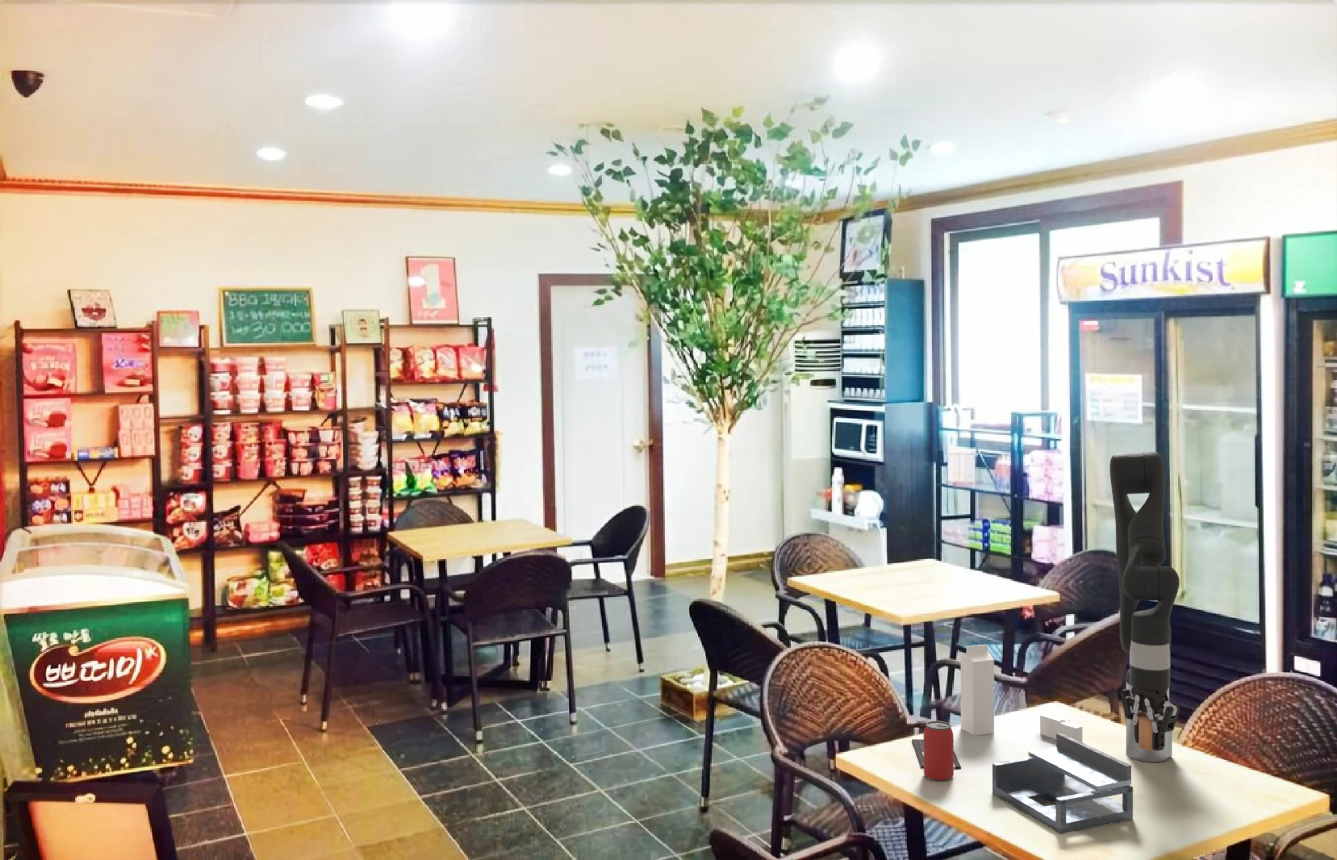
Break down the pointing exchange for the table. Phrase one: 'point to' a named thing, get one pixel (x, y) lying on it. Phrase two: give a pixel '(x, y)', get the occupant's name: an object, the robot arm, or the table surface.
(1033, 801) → the housing
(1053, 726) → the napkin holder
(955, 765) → the chocolate bar
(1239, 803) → the table surface
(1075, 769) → the cover
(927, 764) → the beer can
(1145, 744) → the rounded orange stub
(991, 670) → the milk
